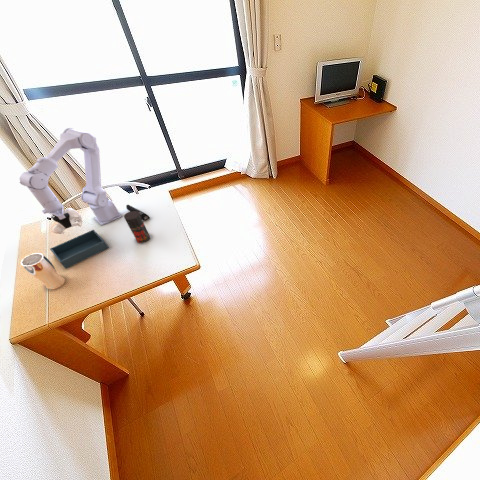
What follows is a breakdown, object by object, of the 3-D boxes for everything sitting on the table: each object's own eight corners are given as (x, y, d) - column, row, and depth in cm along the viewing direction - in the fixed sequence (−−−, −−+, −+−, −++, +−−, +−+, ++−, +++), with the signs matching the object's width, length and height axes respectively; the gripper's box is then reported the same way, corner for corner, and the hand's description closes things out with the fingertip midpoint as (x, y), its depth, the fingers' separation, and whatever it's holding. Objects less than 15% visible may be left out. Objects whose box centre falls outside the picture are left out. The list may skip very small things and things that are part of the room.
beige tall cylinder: (43, 292, 110) (18, 268, 99) (46, 279, 114) (22, 255, 104) (65, 286, 113) (42, 263, 102) (67, 274, 117) (45, 250, 106)
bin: (98, 236, 133) (93, 229, 130) (108, 247, 129) (104, 241, 126) (55, 255, 123) (49, 248, 120) (65, 268, 119) (59, 262, 116)
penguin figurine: (77, 209, 123) (50, 226, 116) (88, 222, 130) (63, 239, 122) (67, 204, 124) (40, 221, 117) (78, 217, 131) (53, 234, 124)
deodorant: (133, 240, 133) (120, 217, 123) (143, 233, 137) (131, 209, 127) (143, 244, 132) (131, 221, 121) (153, 237, 136) (142, 213, 125)
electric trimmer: (132, 207, 150) (130, 202, 148) (150, 218, 145) (148, 213, 143) (126, 210, 148) (123, 206, 146) (144, 222, 143) (141, 217, 141)
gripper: (29, 195, 115) (49, 220, 125) (42, 211, 109) (61, 235, 119) (49, 188, 119) (67, 213, 129) (63, 203, 113) (80, 228, 123)
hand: (65, 223), depth 124 cm, fingers closed on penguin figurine, 6 cm apart
